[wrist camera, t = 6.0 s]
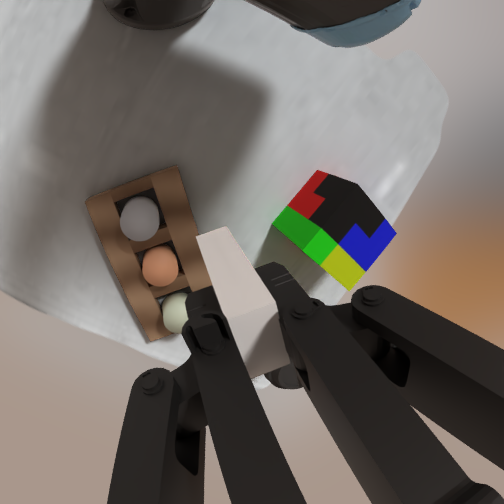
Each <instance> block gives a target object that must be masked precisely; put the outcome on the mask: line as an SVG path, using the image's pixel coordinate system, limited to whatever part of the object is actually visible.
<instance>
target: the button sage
mask: <svg viewBox="0 0 504 504" xmlns="http://www.w3.org/2000/svg"><path fill="white" fill-rule="evenodd" d="M187 296H188V295H187V294H185V293H182V292H175V293H172V294H170V295H168V296H167V297H166V298H165V299H164V301H163V304H162V310H163V321H164V325H165V327H166V328H167V329H168V330H169V331H171V332H173V333H177V334H181V332H182V327H183V325H184V324H185V322H186V321H187V320H188V317H187V311H186V307H185V300H186V298H187Z"/></svg>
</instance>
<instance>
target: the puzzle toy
mask: <svg viewBox="0 0 504 504" xmlns="http://www.w3.org/2000/svg"><path fill="white" fill-rule="evenodd" d="M272 224H273V225H274V226H275V227H276V228H277V229H278V230H280V231H281V232H282V233H283V234H284V235H285V236H286V237H287V238H289V239H290V240H291V241H292V242H293V243H294V244H295V245H296V246H298V247H299V248H300V249H301V250H302V251H303V252H304V253H306V254H307V255H308V256H309V257H310V258H311V259H313V260H314V261H315V262H316V263H317V264H318V265H320V266H321V267H322V268H323V269H324V270H325V271H327V272H328V273H329V274H330V275H331V276H332V277H334V278H335V279H336V280H337V281H338V282H339V283H340V284H342V285H343V286H344V287H345V288H346V289H347V290H348V291H350V290H351V289H352V288H353V286H354V285H355V284H356V283H357V282H358V281H359V279H360V278H361V277H362V276H363V275H364V273H365V272H366V271H367V270H368V269H369V267H370V266H371V265H372V264H373V263H374V261H375V260H376V259H377V258H378V256H379V255H380V254H381V253H382V251H383V250H384V249H385V248H386V246H387V245H388V244H389V243H390V241H391V240H392V239H393V237H394V236H395V235H396V234H397V233H396V232H395V231H394V229H393V228H392V227H391V225H390V224H389V223H388V221H387V220H386V219H385V217H384V216H383V215H382V214H381V212H380V211H379V210H378V209H377V207H376V206H375V205H374V203H373V202H372V201H371V200H370V199H369V197H368V196H367V195H366V194H365V192H364V191H363V190H362V189H361V188H360V186H359V185H358V184H356V183H353V182H351V181H348V180H345V179H342V178H339V177H337V176H334V175H331V174H328V173H325V172H322V171H319V170H317V171H316V172H315V173H314V174H313V176H312V177H311V178H310V179H309V180H308V181H307V183H306V184H305V185H304V186H303V187H302V189H301V190H300V191H299V192H298V193H297V194H296V196H295V197H294V198H293V199H292V200H291V202H290V203H289V204H288V205H287V206H286V207H285V209H284V210H283V211H282V212H281V213H280V215H279V216H278V217H277V218H276V219H275V221H274V222H273V223H272Z"/></svg>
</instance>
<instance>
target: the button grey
mask: <svg viewBox="0 0 504 504" xmlns="http://www.w3.org/2000/svg"><path fill="white" fill-rule="evenodd" d="M120 227H121V230H122V232H123V233H124V234H125V236H127V237H128V238H129V239H131V240H134V241H145V240H148V239H150V238H151V237H153V236H154V235H155V233H156V232H157V230H158V227H159V210H158V207H157V205H156V203H155V202H154V201H153V200H152V199H150V198H148V197H146V196H136V197H134V198H132V199H130V200H129V201H128V202H127V203H126V204H125V206H124V209H123V212H122V214H121V218H120Z"/></svg>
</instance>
